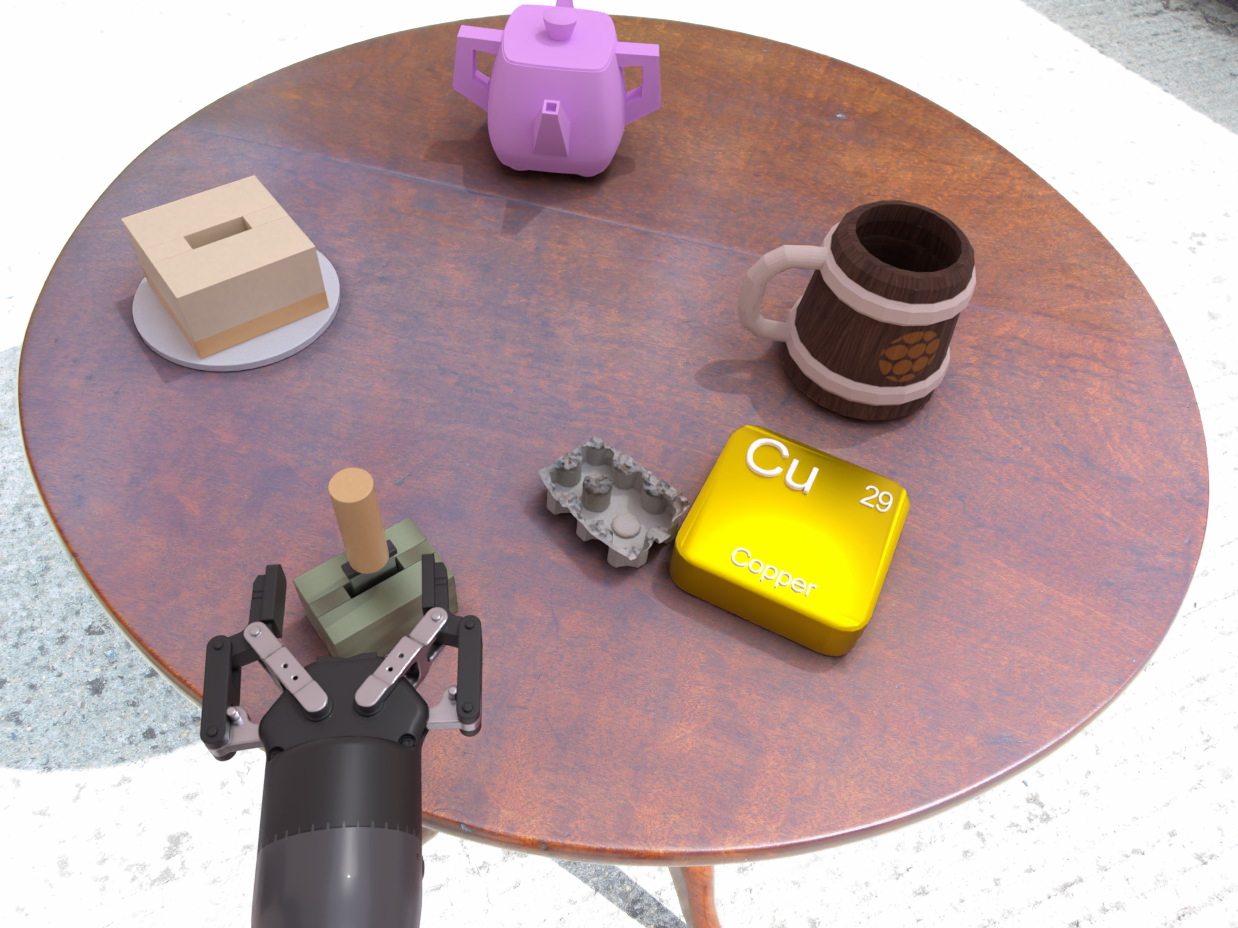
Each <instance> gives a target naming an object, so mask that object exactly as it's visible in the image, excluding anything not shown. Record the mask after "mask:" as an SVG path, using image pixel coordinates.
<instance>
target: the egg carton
mask: <svg viewBox="0 0 1238 928" xmlns="http://www.w3.org/2000/svg"><path fill="white" fill-rule="evenodd" d="M538 475H539V477H540V479H541V481H542V483H543V484H544V486H545V487H546V489H547V493H546V509H547V510H548V511H549V512H550V513H552V514H553V515H560V514H568V513H569V514H571V515H572V516H573V517H574V518H576V530H575V531H576V532H575V533H576V536H577V537H578V538H579V539H581V540H582V541H583V542H587V541H591V540H599V541H601V542H602V543H604V544H605V545H606V546H608V553H607V559H606V560H607V563H609V565H610V566H612V567H614V568H620V567H627V566H628V567H633V568H638V569H639V568H640V567H641V566H644V565H646V563H647V560H648V556H649V550H650V548H651V547H652V546H653V544H654V542H656V543H657V544H661V543H664V544H670V542H672V541H673V540H674V539H676V536H677V532H678V531H677V530H678V525H679V519H678V518H679V517H680V516H681V515H683V514H684V513H685V511H686V510H688V509H689V508H690V502H689V500H688V498H686V497H684V496H683V493H682V492H681V491H679V489H677V488H675V487H674V486H673V484H671V483H669V482H667V481H666V480H664V479H662V480H659V478H657V476H655V474H654V473H653V472H652V471H650V470H647V469H645V467H643V466H642V465H641V464H639V463H638V462H637V460H635V459H634V458H633V457H632V456H630V455H629V454H628V455H627V454H626V453H624V452H623V451H620V450H617V449H616V448H614V447H612V446H608V445H605V443H604V440H603V439H602V438H600V437H599V436H596V435H593V436H592V437H591V438H589V440H588V441H587V442H585V443H584V444H582V443H580V444H578V445H576V446H575V447H574V449H573V450H570V451H568V452H566V453H565V454H563V455H562V456H559V457H557V458H555V459H554V461H552V463H551V464H549V465H546V466H545V467H543V468H541V469H539V470H538Z"/></svg>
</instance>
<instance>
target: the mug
mask: <svg viewBox="0 0 1238 928" xmlns="http://www.w3.org/2000/svg"><path fill="white" fill-rule="evenodd" d="M975 262H976V260H975V250H974V247H973V246H972V244H971V242H970V240H969V238H968V236H967V234H965V233H964V232H963V230H962V229H961V228H960V227H958V225H956V223H955V222H953V220H952V219H950V218H949V217H947V216H946V215H944V214H942V213H940V212H939V211H937V210H935V209H933V208H931V207H928V206H925V205H922V204H920V203H916V202H911V201H906V200H899V199H897V200H895V199H894V200H893V199H887V200H883V199H881V200H878V201H873V202H870V203H869V202H868V203H864V204H859V205H858V206H856V207H854V208H853V209H851V210H850V211H848V212H846V213H845V214H844V215H843V217H842V219H841V220H840V221H839V222H837V223H836V224H833V225H832V227H831V229H830V230H829V231H828V232H827V234H826V236H825V237H824V239H822V242H821V243H820V245H819V246H818V245H805V244H803V245H801V244H783V245H781V246H779V247H777V248H774V249H773V250H770V251H769V252H765V253H764V254H763V255H762V256H761V257H760V258H759V259H758V260H757V261H756V262H754V264H753V265H752V266H751V267H750V268H749V269H748V270H747V271H746V273H745V277H744V280H743V283H742V286H741V289H740V293H739V296H738V298H737V299H738V300H737V313H738V321H739V324H740V325H741V326H742V327H744V328H745V329H746V330H748V331H749V332H750V333H751V334H753V335H754V336H755V337H756V338H759V339H762V340H763V339H764V340H767V341H773V342H781V348H780V357H781V360H782V363H783V366H784V369H785V373H786V374H787V375H788V377H789V378H790V379H791V381H792V382H793V383H794V384H795V386H796V387H797V389H798V390H799V391H801V392H802V393H804V395H806V396H807V397H808V398H809V399H811V400H812V401H813V402H815V403H816V404H818V405H819V406H820V407H823V408H825V409H827V410H830V411H831V412H834V413H835V414H839V415H840V416H843V417H848V418H849V417H850V418H853V419H859V420H863V421H888V420H895V419H896V420H897V419H899V418H902V417H904V416H908V415H911V414H915V413H916V412H917V411H918V410H920V409H921V408H922V407H923V406H925V405H926V404H927V403H928V402H929V401H930V400H931V398H932V396H933V394H934V392H935V390H936V388H938V387H939V386H940V385H941V384H942V382H943V380H944V377H945V375H946V373H947V371H948V370H949V366H950V361H951V350H950V349H951V348H950V347H951V346H950V345H951V341H952V338H953V335H954V333H955V331H956V327H957V325H958V321H959V318H960V315H961V312H962V311H964V310H965V309H966V308H967V307H968V305H969V303H970V301H971V299H972V297H973V295H974V292H975V288H976V284H977V277H976V276H977V274H976V266H975V265H976V263H975ZM789 269H799V270H810V271H811V270H813V273H812V276H811V278H810V280H809V282H808V283H807V286H806V289H805V291H804V292H803V294H801V295H800V296H799V297H798V299H797V300H796V302H795V303H794V304H793V306H792V308H791V309H790V311H789V312H788V314H787V316H786V317H785V321H781V320H779V321H778V320H773V319H769V318H765V317H764V316H763V315H762V314H761V313H760V312H761V309H760V308H761V304H762V300H763V298H764V295H765V291H766V289H767V286H768V283H769V282H770V281H772V280H773V279H774V278H775V277H776V276H777V275H778V274H780V273H783V272H785V271H787V270H789Z"/></svg>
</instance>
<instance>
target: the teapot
mask: <svg viewBox="0 0 1238 928" xmlns="http://www.w3.org/2000/svg"><path fill="white" fill-rule="evenodd" d="M478 51H479V52H482V53H486V54H491V55H495V58H494V62H493V66H492V70H491V74H490V77H488V76H487V75H485V74H484V73H482V72H481V71H479V70H478V69H477V55H478V54H477V52H478ZM454 54H455V55H454V65H453V76H452V85H451V86H452V87H451V88H452V89H453V90H455V91H456V92H457V93H459V94H460V95H462V96H463V97H465V98H466V99H468V100H469V101H471V102H472V103H473V104H475V105H476V106H478V107H479V108H481V109H482V110H484V111H485V112H486V113H487V128H488V136H489V140H490V143H491V146H492V149H493V151H494V153H495V155H496V157H497V159H498V160H499V162H501V164H503V165H504V166H507V167H509V168H511V169H513V170H515V171H522V172H523V171H528V170H529V171H537V172H544V173H545V172H546V173H556V174H569V175H578V176H581V177H584V178H585V177H586V178H589V177H595V176H596V175H598V174H601V173H602V172H604V171H606V169H607V168H608V167H609V166H610V164H611V163H612V160H613V159H614V157H615V155H616V152H617V151H618V148H619V146H620V144H621V141H622V137H623V135H624V131H625V128H626V126H628V125H629V124H631V123H633V122H635V121H638V120H639V119H642V118H643V117H646V116H648V115H650V114H652V113H654V112H657V111H658V110H661V109H662V87H661V63H660V61H661V60H660V44H659V43H658V44H656V43H644V42H630V41H629V42H628V41H619V40H618V36H617V31H616V28H615V24H614V20H613V19H612V17H611V16H610V15H609V14H608V13H606V12H605V11H599V10H592V9H586V8H577V7H575V5H574V0H556V1H555V5H546V4H521V5H518V6H517V7H516V8H515V9H514V10H513V11H512V12H511V14H510V15H509V17H508V19H507V21H506V24H505V25H504V29H497V28H488V27H481V26H473V25H467V24H461V25H460V27H459V30H458V33H457V36H456V44H455V53H454ZM626 67H628V68H629V67H630V68H631V67H642V68H641V69H642V70H641V85H640V86H637V87H635V88H633V89H631V90H628V91H626V88H627V87H626V80H625V71H624V68H626Z"/></svg>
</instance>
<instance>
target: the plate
mask: <svg viewBox="0 0 1238 928" xmlns="http://www.w3.org/2000/svg"><path fill="white" fill-rule="evenodd" d="M316 251H317V255H318V260H319V264H320V269H321V273H322V278H323V282H324V287H325V291H326V295H327V300H328V304H329V308H326V309H324V310H321V311H319V312H316V313H314V314H312V315H309V316H307V317H304V318H302V319H299V320H297V321H294V322H292V323H289V324H287V325H284V326H282V327H280V328H277V329H275V330H272V331H270V332H267V333H265V334H262V335H260V336H257V337H255V338H252V339H250V340H248V341H245V342H243V343H240V344H238V345H235V346H233V347H230V348H228V349H225V350H223V351H221V352H218V353H216V354H213V355H211V356H208V357H206V358H203V359H200V358H199V356H198V355H197V353H196V352H195V350H194V349H193V347H192V346H191V344H190V343H189V341H188V340H187V339H186V337H185V336H184V334H183V333H182V331H181V330H180V328H179V327H178V325H177V324H176V323H175V321H174V320H173V318H172V317H171V315H170V314H169V312H168V311H167V309H166V308H165V306H164V305H163V304H162V302H161V301H160V299H159V298H158V296H157V295H156V293H155V292H154V290H153V289H152V288H151V286H150V285H149V283H148V282H147V280H146V277H145V276H144V277H143V278H142V280H141V281H140V283H139V285H138V287H137V289H136V291H135V293H134V297H133V301H132V318H133V322H134V325H135V327H136V330H137V332H138V335H139V336H140V338H141V340H143V341H144V344H145V345H147V346H148V347H149V348H150V349H151V351H153V352H154V353H156V354H157V355H159V356H160V357H161V358H163V359H165V360H167V361H169V362H171V363H173V364H176V365H179V366H181V367H183V368H184V367H185V368H190V369H193V370H197V371H198V370H199V371H206V372H222V373H223V372H224V373H225V372H239V371H246V370H252V369H253V370H254V369H257V368H261V367H264V366H265V367H266V366H268V365H272V364H275V363H277V362H280V361H283V360H285V359H288V358H290V357H292V356H294V355H295V354H297V353H299V352H301V351H303V350H305V349H306V348H308V347H309V346H310V345H311V344H313V343H314V342H315V341H316V340H318V339H319V338H320V337H321V336H322V335H323V334H324V333H325V332H326V330H327V329H328V328H329V327H330V325H331V324H332V322H333V321H334V319H335V318H336V317H337V313H338V311H339V308H340V304H341V299H342V298H341V295H342V291H341V284H340V279H339V276H338V274H337V271H336V269H335V267H334V266H333V264H332V262H331V261H330V260H329V259H328V258H327V257H326V256H325V255H324V254H323V253H322V252H321V251H319V250H318V249H317V248H316Z"/></svg>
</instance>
